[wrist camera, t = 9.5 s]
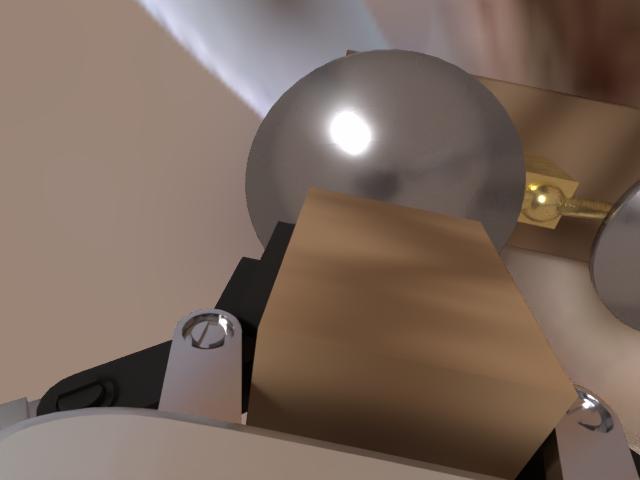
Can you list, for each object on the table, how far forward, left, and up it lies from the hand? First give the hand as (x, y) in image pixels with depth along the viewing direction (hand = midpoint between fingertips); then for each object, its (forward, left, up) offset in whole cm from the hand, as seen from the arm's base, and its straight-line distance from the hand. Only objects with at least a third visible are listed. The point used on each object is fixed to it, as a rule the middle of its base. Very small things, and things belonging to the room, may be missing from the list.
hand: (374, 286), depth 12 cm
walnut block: (0, 0, -1) cm, 1 cm away
